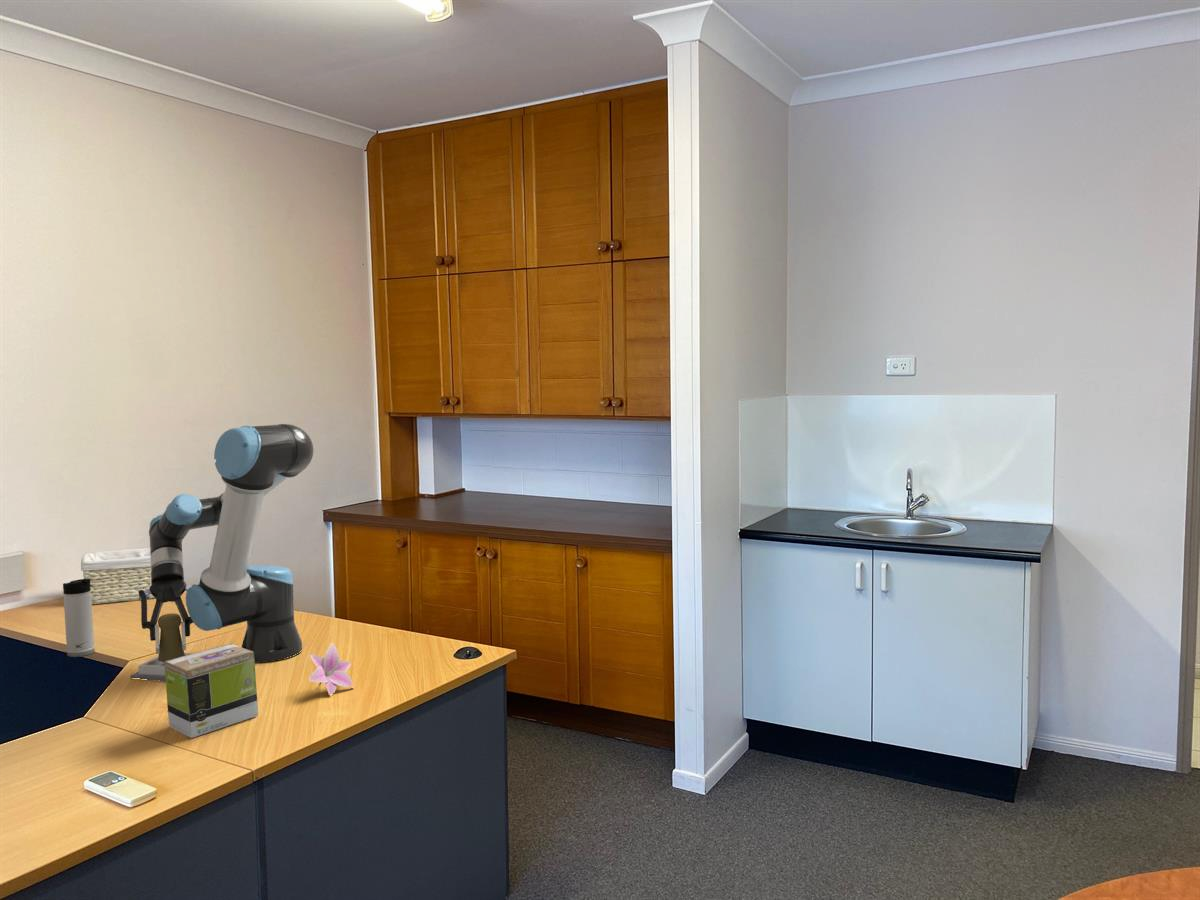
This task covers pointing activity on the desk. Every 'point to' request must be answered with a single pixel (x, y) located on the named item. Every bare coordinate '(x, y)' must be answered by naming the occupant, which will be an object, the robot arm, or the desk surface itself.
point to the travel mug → (78, 618)
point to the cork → (170, 637)
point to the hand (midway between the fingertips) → (171, 649)
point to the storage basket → (117, 574)
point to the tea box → (211, 689)
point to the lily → (331, 670)
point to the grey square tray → (152, 670)
